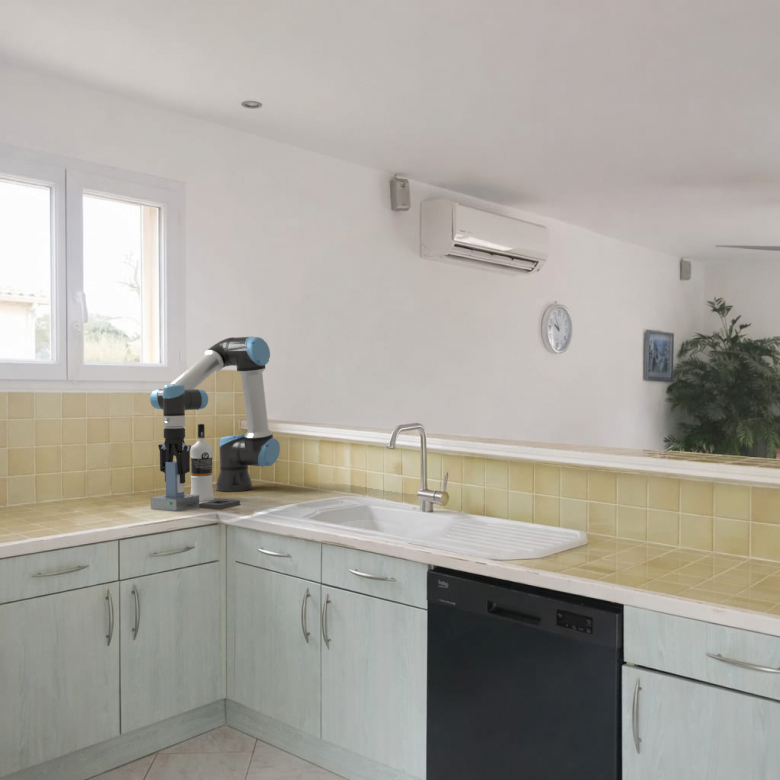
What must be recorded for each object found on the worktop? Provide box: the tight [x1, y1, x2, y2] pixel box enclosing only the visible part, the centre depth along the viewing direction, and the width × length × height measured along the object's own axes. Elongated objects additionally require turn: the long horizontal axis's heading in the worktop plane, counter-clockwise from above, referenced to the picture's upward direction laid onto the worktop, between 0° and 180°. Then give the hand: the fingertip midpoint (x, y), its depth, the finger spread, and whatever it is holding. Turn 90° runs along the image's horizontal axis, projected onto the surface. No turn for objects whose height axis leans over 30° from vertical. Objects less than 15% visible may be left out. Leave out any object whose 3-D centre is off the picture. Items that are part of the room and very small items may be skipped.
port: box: [150, 493, 200, 512], centre depth 291 cm, size 13×12×5 cm
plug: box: [165, 460, 185, 498], centre depth 291 cm, size 4×4×14 cm
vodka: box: [190, 423, 215, 502], centre depth 309 cm, size 9×9×30 cm
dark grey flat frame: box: [198, 498, 241, 511], centre depth 293 cm, size 12×9×2 cm
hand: (175, 491), depth 291 cm, fingers closed on plug, 4 cm apart
